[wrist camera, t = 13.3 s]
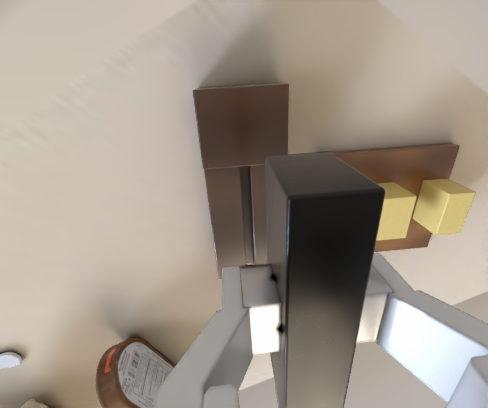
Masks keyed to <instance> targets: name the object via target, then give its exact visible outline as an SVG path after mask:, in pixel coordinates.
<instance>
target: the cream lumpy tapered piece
mask: <svg viewBox="0 0 488 408" xmlns="http://www.w3.org/2000/svg"><path fill="white" fill-rule="evenodd" d="M21 408H49V407H48V406H47V405H44V404H43V403H37V402H36V400H35V399H30V400H29V401H27V402H25V403H24V405H23V406H22V407H21Z"/></svg>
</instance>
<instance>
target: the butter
mask: <svg viewBox="0 0 488 408" xmlns="http://www.w3.org/2000/svg"><path fill="white" fill-rule="evenodd" d="M377 184H378V185H379V186H381V187H383V188H384V189H385V198H384V203H383V208H382V213H381V218H380V224H379V229H378V234H377V239H376V241H378V240H388V239H399V238H406V235H407V231H408V227H409V224H410V220H411V216H412V212H413V209H414V205H415V201H416V197H417V196H416V195H414V194H412V193H411V192H409V191H407V190H406V189H404V188H403V187H401V186H399V185H398V184H396V183H394V182H389V183H377Z"/></svg>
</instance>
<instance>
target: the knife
mask: <svg viewBox="0 0 488 408" xmlns="http://www.w3.org/2000/svg"><path fill="white" fill-rule="evenodd" d="M265 191H266V231H267V264H271V265H272V267H273V271H274V281H275V282H276V283H277V286H278V290H279V294H280V298H281V301H282V324H281V325H280V328H281V333H282V351H277V352H270V355H271V361H272V367H273V373H274V378H275V389H276V390H275V391H276V396H277V402H278V408H344V404H345V399H346V393H347V388H348V383H349V378H350V373H351V368H352V363H353V357H354V352H355V347H356V342H357V337H358V332H359V327H360V321H361V316H362V311H363V306H364V301H365V296H366V291H367V285H368V280H369V275H370V270H371V265H372V260H373V254H374V249H375V244H376V239H377V234H378V229H379V224H380V218H381V213H382V208H383V203H384V198H385V189H384V188H383V187H381V186H379V185H378V184H376V183H375V182H373V181H372V180H370V179H369V178H367V177H366V176H364V175H363V174H361V173H360V172H358V171H357V170H355V169H354V168H352V167H351V166H349V165H348V164H346V163H345V162H343V161H342V160H340V159H339V158H337V157H336V156H334V155H333V154H331V153H329V152H317V153H305V154H292V155H279V156H268V157H266V158H265Z"/></svg>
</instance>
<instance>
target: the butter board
mask: <svg viewBox="0 0 488 408" xmlns="http://www.w3.org/2000/svg"><path fill="white" fill-rule="evenodd" d="M458 149H459V145H456V144H452V143H449V144H436V145H424V146H411V147H398V148H385V149H372V150H359V151H346V152H333V153H331V154H333V155H334V156H336V157H337V158H339V159H340V160H342V161H343V162H345V163H346V164H348V165H349V166H351V167H352V168H354V169H355V170H357V171H358V172H360V173H361V174H363V175H364V176H366V177H367V178H369V179H370V180H372V181H373V182H375V183H376V184H377V183H389V182H394V183H396V184H398V185H399V186H401V187H403V188H404V189H406V190H407V191H409V192H411V193H412V194H414V195H416V196H417V197H416V201H415V205H414V209H413V212H412V216H411V220H410V224H409V227H408V231H407V235H406V238H399V239H388V240H378V241H376V244H375V249H374V252H379V251H390V250H400V249H411V248H421V247H427V246H428V243H429V240H430V237H431V234H432V232H430V231H429V230H428V229H426V228H425V227H424V226H422V225H421V224H420V223H418V222H417V221H415V220H414V219H413V214H414V211H415V207H416V204H417V200H418V197H419V193H420V190H421V186H422V183H423V180H434V179H448V180H449V178H450V174H451V171H452V168H453V165H454V162H455V159H456V156H457V152H458Z"/></svg>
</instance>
